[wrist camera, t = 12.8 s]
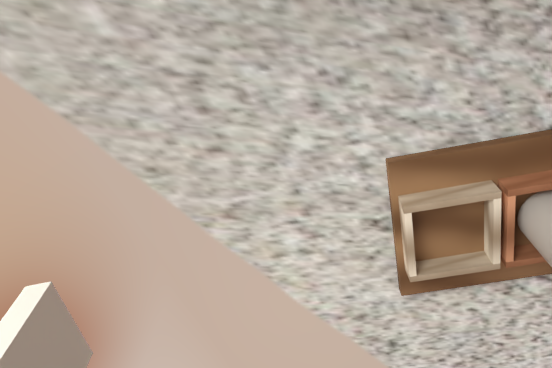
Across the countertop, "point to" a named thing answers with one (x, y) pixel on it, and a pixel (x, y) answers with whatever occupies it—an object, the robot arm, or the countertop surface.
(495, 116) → the countertop surface
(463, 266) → the socket board
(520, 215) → the beverage can
